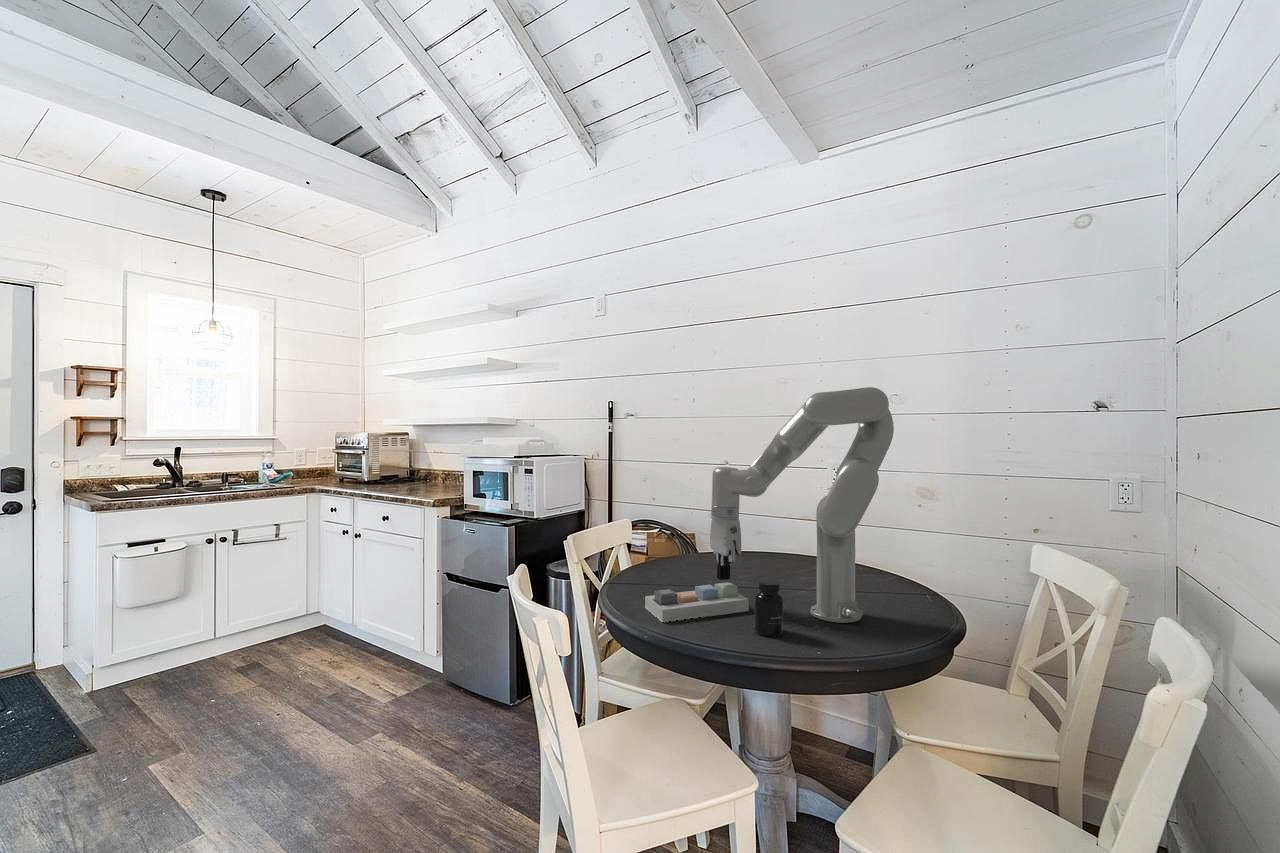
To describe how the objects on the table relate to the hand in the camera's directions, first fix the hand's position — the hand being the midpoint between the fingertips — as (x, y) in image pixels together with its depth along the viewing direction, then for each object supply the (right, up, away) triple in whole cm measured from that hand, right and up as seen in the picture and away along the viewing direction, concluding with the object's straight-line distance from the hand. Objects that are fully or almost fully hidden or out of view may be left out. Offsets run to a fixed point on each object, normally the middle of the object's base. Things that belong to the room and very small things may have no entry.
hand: (723, 578), depth 158 cm
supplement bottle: (+8, -8, -20) cm, 23 cm away
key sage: (+1, -5, 0) cm, 5 cm away
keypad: (-8, -8, -3) cm, 11 cm away
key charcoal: (-16, -5, -6) cm, 18 cm away
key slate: (-5, -5, -2) cm, 7 cm away
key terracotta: (-11, -6, -4) cm, 13 cm away
